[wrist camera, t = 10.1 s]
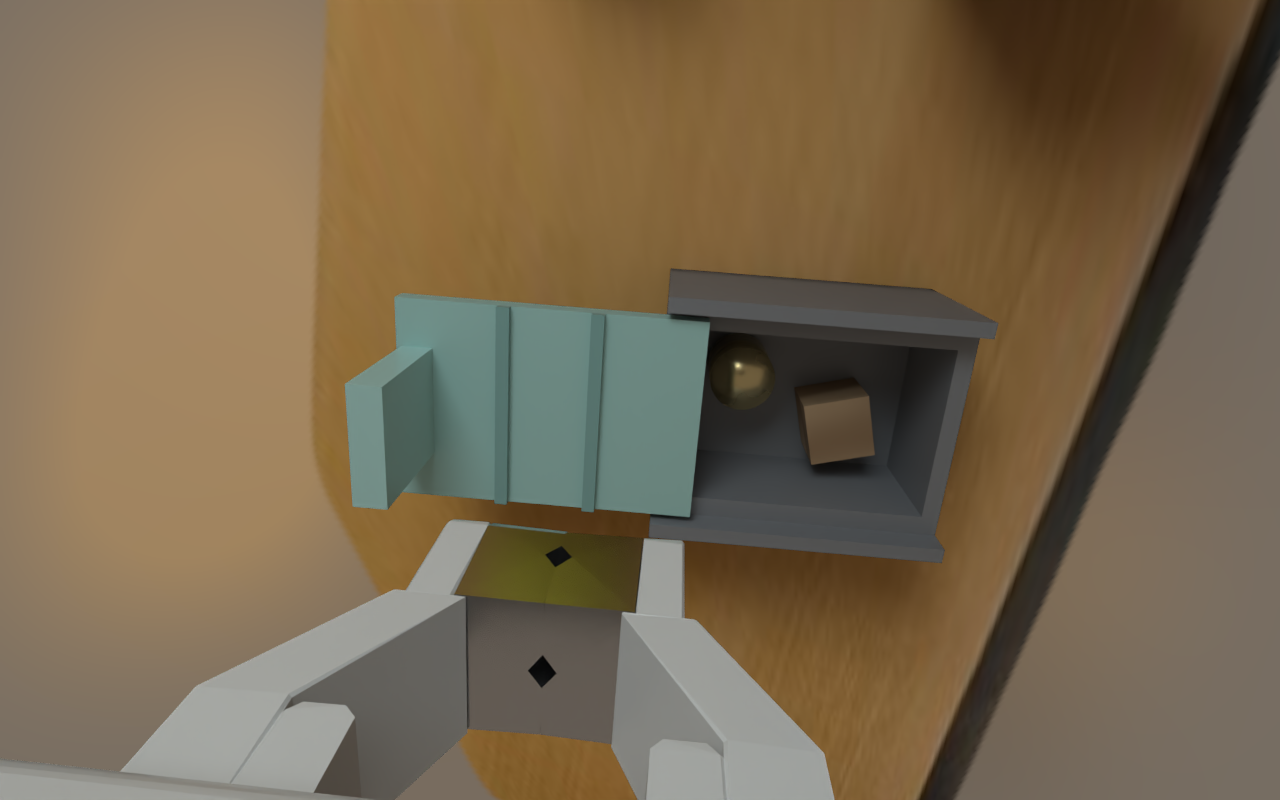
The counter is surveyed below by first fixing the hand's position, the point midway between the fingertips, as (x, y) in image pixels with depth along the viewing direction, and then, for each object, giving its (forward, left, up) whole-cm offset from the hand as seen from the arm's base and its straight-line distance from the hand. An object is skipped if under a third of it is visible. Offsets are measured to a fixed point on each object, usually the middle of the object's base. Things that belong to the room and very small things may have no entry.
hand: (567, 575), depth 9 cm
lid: (+5, -3, -19) cm, 20 cm away
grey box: (+5, +7, -25) cm, 27 cm away
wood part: (+6, +9, -25) cm, 27 cm away
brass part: (+4, +5, -25) cm, 25 cm away
